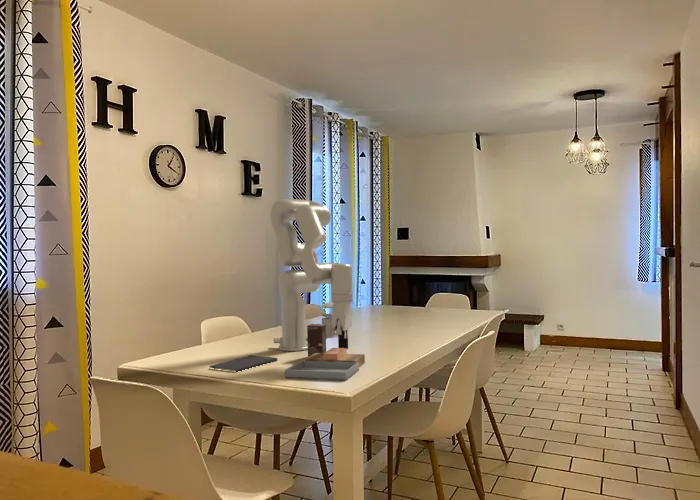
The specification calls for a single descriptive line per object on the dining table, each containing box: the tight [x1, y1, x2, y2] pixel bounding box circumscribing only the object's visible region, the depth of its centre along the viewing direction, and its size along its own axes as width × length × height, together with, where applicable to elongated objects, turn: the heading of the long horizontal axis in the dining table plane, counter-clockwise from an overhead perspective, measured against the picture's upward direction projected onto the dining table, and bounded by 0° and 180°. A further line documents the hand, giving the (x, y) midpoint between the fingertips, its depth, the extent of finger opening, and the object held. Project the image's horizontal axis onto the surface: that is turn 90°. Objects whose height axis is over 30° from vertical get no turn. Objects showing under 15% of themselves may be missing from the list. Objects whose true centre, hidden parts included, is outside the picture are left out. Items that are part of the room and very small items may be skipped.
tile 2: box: [327, 347, 348, 357], centre depth 196 cm, size 5×5×2 cm
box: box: [306, 323, 327, 357], centre depth 208 cm, size 6×4×12 cm
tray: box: [284, 360, 360, 382], centre depth 181 cm, size 20×14×2 cm
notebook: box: [209, 354, 278, 373], centre depth 198 cm, size 13×2×21 cm
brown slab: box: [304, 353, 366, 368], centre depth 193 cm, size 18×11×3 cm, turn 74°
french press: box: [320, 283, 338, 339], centre depth 257 cm, size 10×12×25 cm
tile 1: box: [323, 350, 342, 360], centre depth 191 cm, size 5×5×2 cm
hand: (343, 349), depth 203 cm, fingers closed
